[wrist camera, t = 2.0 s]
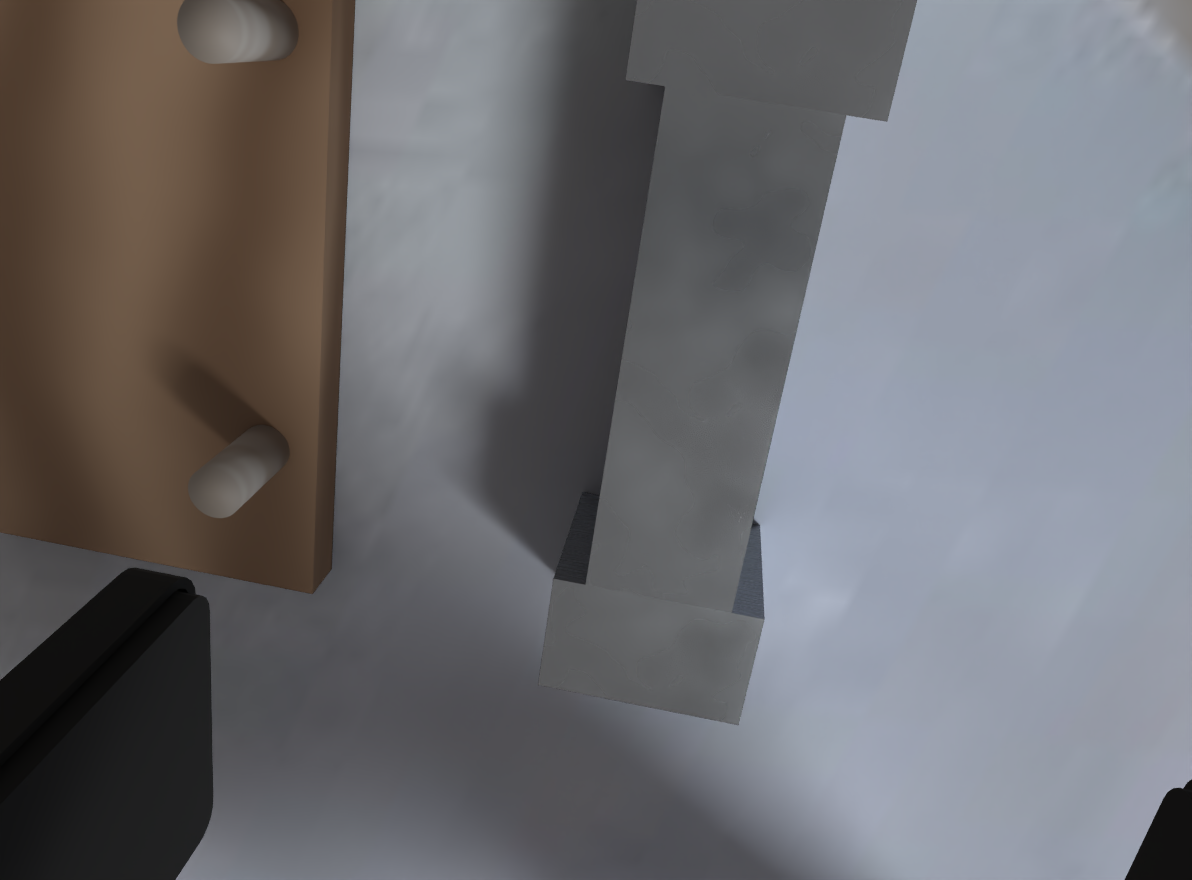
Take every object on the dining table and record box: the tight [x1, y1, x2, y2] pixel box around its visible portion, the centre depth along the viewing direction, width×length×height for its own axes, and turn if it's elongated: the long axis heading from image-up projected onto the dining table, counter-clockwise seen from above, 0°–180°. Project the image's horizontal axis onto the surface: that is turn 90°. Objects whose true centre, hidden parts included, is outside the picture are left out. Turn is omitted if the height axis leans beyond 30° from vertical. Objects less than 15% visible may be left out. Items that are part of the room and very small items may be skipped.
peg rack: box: [0, 0, 355, 594], centre depth 25 cm, size 16×20×4 cm
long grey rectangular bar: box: [538, 0, 917, 725], centre depth 24 cm, size 5×18×5 cm, turn 172°
